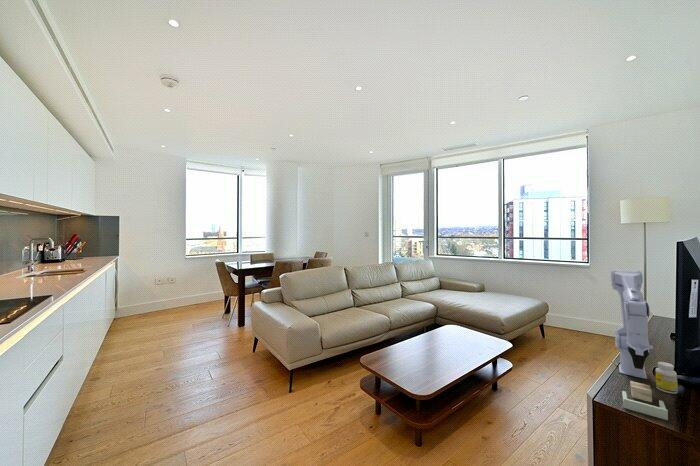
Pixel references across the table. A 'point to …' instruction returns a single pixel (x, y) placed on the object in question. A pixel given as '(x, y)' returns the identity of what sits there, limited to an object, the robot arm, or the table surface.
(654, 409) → the dock
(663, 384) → the supplement bottle
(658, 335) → the table surface
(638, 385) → the birch block
